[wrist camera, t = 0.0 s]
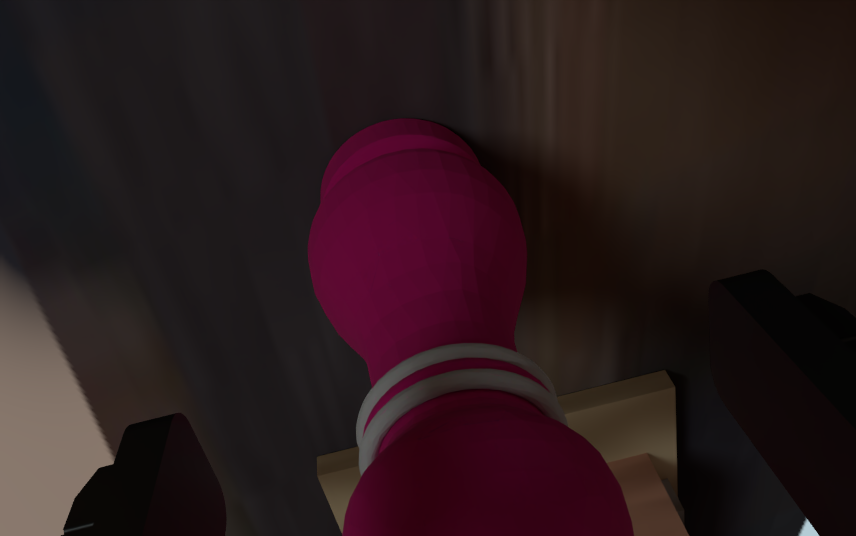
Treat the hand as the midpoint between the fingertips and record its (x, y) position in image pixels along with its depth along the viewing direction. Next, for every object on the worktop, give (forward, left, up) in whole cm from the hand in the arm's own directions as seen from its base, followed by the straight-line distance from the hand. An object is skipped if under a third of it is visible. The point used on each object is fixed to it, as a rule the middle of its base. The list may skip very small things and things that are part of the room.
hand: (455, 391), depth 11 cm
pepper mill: (+6, 0, -17) cm, 18 cm away
